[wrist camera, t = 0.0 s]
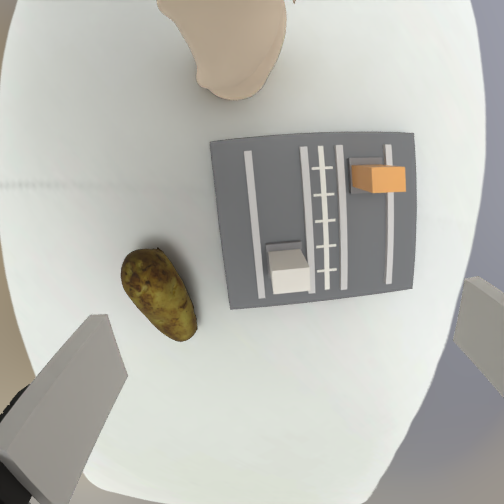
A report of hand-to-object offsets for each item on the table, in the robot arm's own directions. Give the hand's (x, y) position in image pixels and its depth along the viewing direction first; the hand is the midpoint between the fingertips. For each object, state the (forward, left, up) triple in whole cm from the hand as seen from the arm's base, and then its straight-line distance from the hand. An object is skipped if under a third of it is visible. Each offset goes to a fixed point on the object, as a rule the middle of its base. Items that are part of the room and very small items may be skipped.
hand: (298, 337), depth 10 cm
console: (+2, +7, -28) cm, 29 cm away
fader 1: (+6, +2, -26) cm, 27 cm away
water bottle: (-17, -1, -28) cm, 33 cm away
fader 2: (-3, +12, -26) cm, 29 cm away
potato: (+9, -13, -28) cm, 32 cm away
